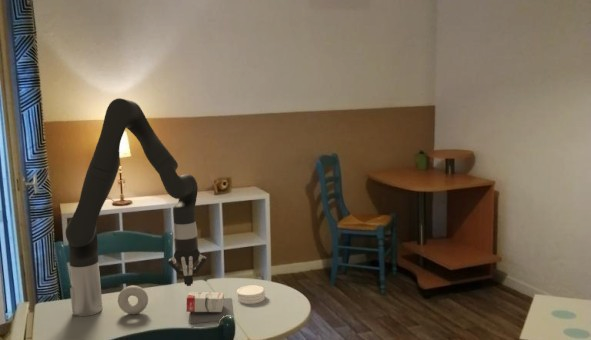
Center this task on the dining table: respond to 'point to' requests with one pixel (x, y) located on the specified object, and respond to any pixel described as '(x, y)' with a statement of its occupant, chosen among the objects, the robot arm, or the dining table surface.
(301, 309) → the dining table surface
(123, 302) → the donut
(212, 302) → the ink box
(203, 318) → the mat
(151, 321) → the dining table surface
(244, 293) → the white round lidded container
